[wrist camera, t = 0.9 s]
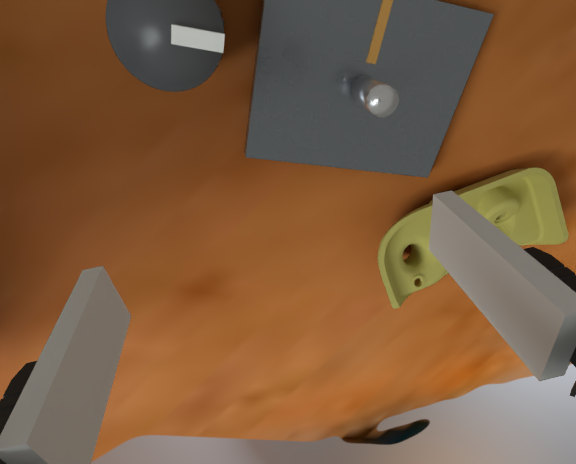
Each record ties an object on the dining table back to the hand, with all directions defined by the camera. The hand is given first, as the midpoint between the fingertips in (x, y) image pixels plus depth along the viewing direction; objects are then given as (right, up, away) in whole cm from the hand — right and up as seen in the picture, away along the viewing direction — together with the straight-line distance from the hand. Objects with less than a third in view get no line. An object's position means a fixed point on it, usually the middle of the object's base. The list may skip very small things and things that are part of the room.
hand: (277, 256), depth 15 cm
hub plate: (+6, +14, +17) cm, 22 cm away
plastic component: (+19, +2, +27) cm, 33 cm away
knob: (-8, +16, +12) cm, 22 cm away
